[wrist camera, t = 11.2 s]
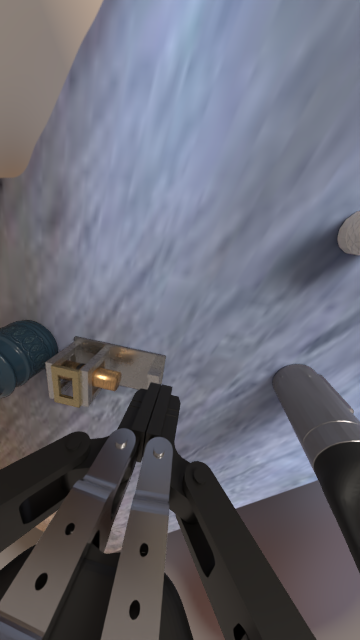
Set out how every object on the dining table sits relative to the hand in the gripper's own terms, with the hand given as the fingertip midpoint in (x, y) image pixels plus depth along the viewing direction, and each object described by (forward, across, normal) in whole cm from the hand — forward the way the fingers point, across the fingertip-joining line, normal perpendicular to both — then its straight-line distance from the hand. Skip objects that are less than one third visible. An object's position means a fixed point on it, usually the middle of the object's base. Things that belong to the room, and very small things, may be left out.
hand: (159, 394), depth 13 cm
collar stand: (+27, +14, +20) cm, 36 cm away
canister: (+27, +36, +19) cm, 49 cm away
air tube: (+24, +18, +20) cm, 36 cm away
